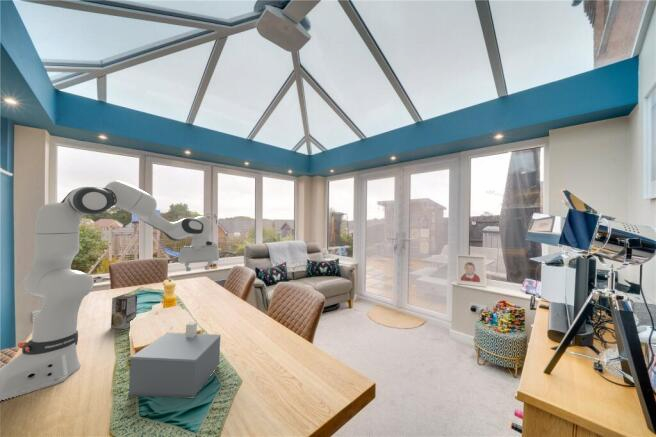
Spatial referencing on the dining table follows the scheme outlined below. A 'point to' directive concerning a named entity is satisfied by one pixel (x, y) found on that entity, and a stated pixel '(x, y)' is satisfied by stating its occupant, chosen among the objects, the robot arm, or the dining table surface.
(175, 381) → the carton
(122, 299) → the coffee box
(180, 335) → the grey box lid
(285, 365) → the dining table surface
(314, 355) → the dining table surface
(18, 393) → the robot arm
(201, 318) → the dining table surface
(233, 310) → the dining table surface
